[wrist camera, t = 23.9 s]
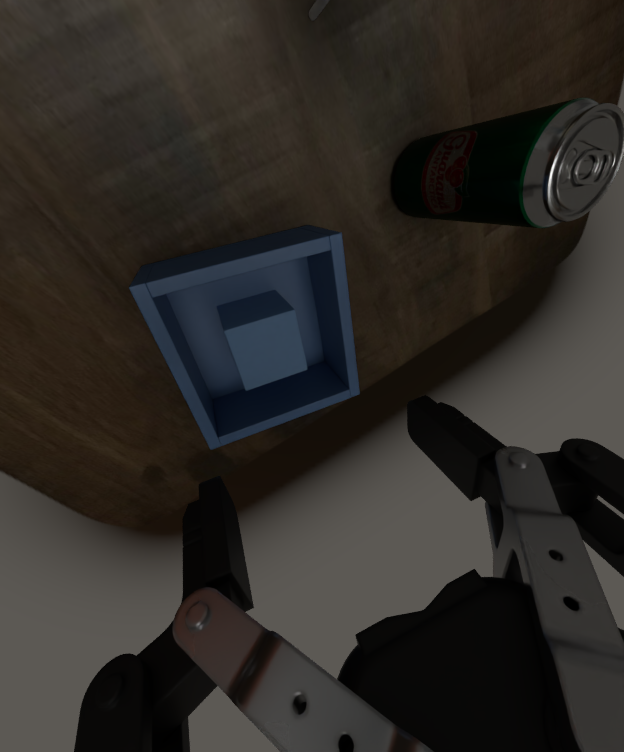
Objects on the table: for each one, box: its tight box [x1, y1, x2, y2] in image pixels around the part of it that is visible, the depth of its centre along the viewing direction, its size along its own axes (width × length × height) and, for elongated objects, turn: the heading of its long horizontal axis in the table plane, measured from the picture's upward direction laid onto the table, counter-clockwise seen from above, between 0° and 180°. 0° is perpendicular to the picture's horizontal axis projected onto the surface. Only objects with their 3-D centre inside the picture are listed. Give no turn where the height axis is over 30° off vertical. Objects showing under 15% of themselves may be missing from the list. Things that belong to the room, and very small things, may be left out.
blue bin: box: [129, 225, 360, 450], centre depth 22 cm, size 12×12×6 cm
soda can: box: [394, 98, 624, 228], centre depth 19 cm, size 5×5×12 cm
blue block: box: [217, 290, 308, 391], centre depth 22 cm, size 4×4×5 cm
